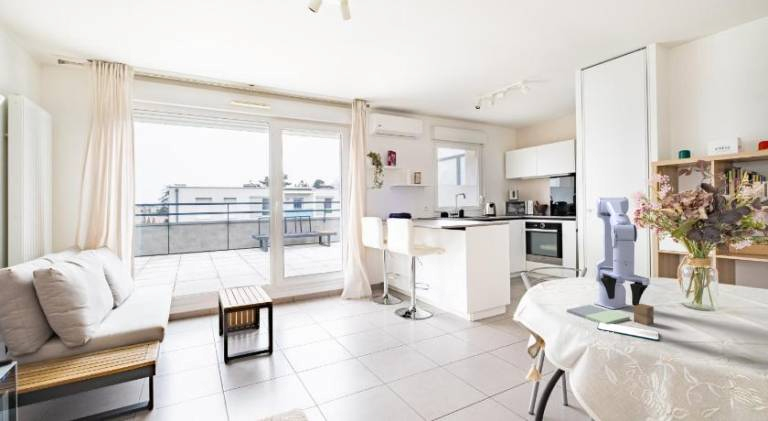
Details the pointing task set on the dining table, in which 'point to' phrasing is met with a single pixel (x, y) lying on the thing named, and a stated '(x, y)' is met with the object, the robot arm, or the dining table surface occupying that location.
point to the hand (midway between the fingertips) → (623, 301)
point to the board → (598, 314)
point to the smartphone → (629, 331)
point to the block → (644, 314)
